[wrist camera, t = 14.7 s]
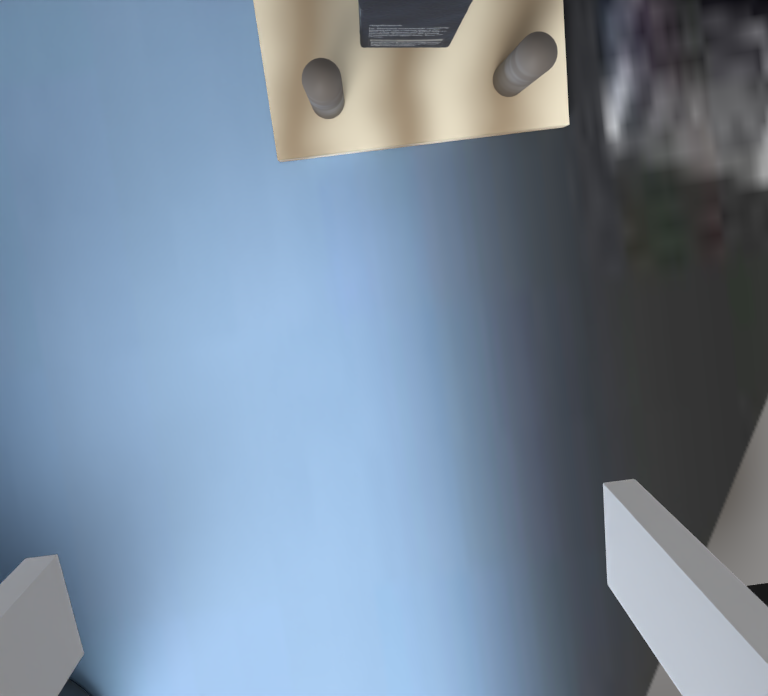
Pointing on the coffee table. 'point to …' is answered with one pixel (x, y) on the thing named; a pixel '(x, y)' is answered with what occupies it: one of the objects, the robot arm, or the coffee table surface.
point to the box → (410, 22)
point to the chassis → (409, 78)
